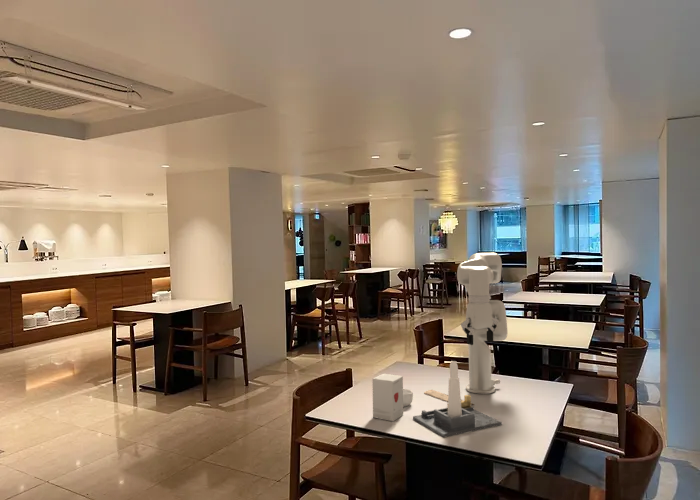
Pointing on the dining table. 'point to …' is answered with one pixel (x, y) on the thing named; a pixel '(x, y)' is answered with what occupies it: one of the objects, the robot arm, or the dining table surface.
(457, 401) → the cosmetic bottle
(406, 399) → the teacup
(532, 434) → the dining table surface
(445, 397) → the newspaper
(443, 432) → the cradle
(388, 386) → the supplement box
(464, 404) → the wooden block
